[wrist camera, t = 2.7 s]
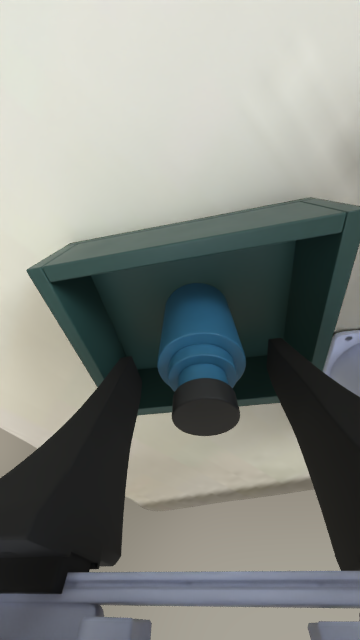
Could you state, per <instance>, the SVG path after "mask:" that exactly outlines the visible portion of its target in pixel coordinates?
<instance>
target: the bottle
mask: <svg viewBox="0 0 360 640" xmlns="http://www.w3.org/2000/svg"><path fill="white" fill-rule="evenodd" d="M245 367H246V357H245V354H244V351H243V348H242V345H241V342H240V339H239V336H238V333H237V330H236V327H235V324H234V321H233V318H232V315H231V312H230V309H229V306H228V303H227V300H226V298H225V297H224V295H223V294H222V293H221V292H220V291H219V290H218V289H216V288H215V287H213V286H211V285H208V284H203V283H192V284H187V285H185V286H182V287H180V288H178V289H177V290H176V291H174V292H173V293H172V294H171V296H170V297H169V298H168V300H167V302H166V306H165V313H164V320H163V326H162V333H161V340H160V347H159V354H158V361H157V368H158V372H159V374H160V376H161V378H162V379H163V380H164V382H165V383H166V384H168V385H169V386H170V387H171V388H172V390H173V391H174V395H173V404H172V420H173V422H174V424H175V426H176V427H177V428H179V429H180V430H182V431H183V432H186V433H188V434H192V435H198V436H212V435H218V434H221V433H224V432H227V431H229V430H230V429H232V428H233V427H234V426H236V424H237V423H238V421H239V419H240V411H239V407H238V402H237V398H236V394H235V391H234V390H233V387H234V386H235V384H236V382H237V381H238V380H239V379H240V378H241V376H242V375H243V373H244V371H245Z"/></svg>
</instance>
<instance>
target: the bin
mask: <svg viewBox="0 0 360 640" xmlns="http://www.w3.org/2000/svg"><path fill="white" fill-rule="evenodd" d="M359 244H360V206H356V205H350V204H344V203H339V202H333V201H328V200H322V199H316V198H311V197H310V198H305V199H300V200H295V201H289V202H284V203H279V204H274V205H268V206H263V207H258V208H253V209H247V210H242V211H237V212H232V213H227V214H221V215H216V216H211V217H206V218H200V219H195V220H190V221H185V222H179V223H174V224H169V225H164V226H159V227H153V228H148V229H143V230H138V231H132V232H127V233H122V234H117V235H111V236H106V237H101V238H96V239H91V240H85V241H80V242H75V243H70V244H68V245H67V246H65V247H64V248H62V249H60V250H59V251H57V252H55V253H54V254H52V255H50V256H49V257H47V258H45V259H44V260H42V261H40V262H39V263H37V264H35V265H34V266H32V267H30V268H29V269H27V270H26V271H27V273H28V274H29V276H30V278H31V279H32V281H33V283H34V284H35V286H36V288H37V289H38V291H39V292H40V294H41V296H42V297H43V299H44V301H45V302H46V304H47V305H48V307H49V309H50V310H51V312H52V314H53V315H54V317H55V319H56V320H57V322H58V323H59V325H60V327H61V328H62V330H63V332H64V333H65V335H66V336H67V338H68V340H69V341H70V343H71V345H72V346H73V348H74V350H75V351H76V353H77V354H78V356H79V358H80V359H81V361H82V363H83V364H84V366H85V367H86V369H87V371H88V372H89V374H90V376H91V377H92V379H93V381H94V382H95V384H96V385H97V387H99V385H100V384H101V383H102V382H103V380H104V379H105V378H106V376H107V375H108V374H109V372H110V371H111V370H112V369H113V367H114V366H115V365H116V363H117V362H118V361H119V359H120V358H121V357H129V356H132V358H133V361H134V363H135V365H136V368H137V370H138V372H139V375H140V377H141V380H142V389H141V399H140V404H139V409H138V413H137V415H146V414H158V413H169V412H172V404H173V395H174V391H173V390H172V388H171V387H170V386H169V385H168V384H166V383H165V382H164V380H163V379H162V378H161V376H160V374H159V372H158V368H157V361H158V354H159V347H160V340H161V333H162V326H163V320H164V313H165V306H166V302H167V300H168V298H169V297H170V296H171V294H172V293H173V292H174V291H176V290H177V289H178V288H180V287H182V286H185V285H187V284H192V283H203V284H208V285H211V286H213V287H215V288H216V289H218V290H219V291H220V292H221V293H222V294H223V295H224V297H225V298H226V300H227V303H228V306H229V309H230V312H231V315H232V318H233V321H234V324H235V327H236V330H237V333H238V336H239V339H240V342H241V345H242V348H243V351H244V354H245V357H246V367H245V371H244V373H243V375H242V376H241V378H240V379H239V380H238V381H237V382H236V384H235V386H234V387H233V390H234V391H235V394H236V398H237V402H238V406H248V405H259V404H271V403H280V401H279V399H278V397H277V394H276V392H275V390H274V388H273V386H272V383H271V380H270V377H269V374H268V371H267V368H266V367H267V353H268V339H275V338H282V339H283V340H285V341H286V342H287V343H288V344H289V345H290V346H292V347H293V348H294V349H295V350H296V351H297V352H299V353H300V354H301V355H302V356H303V357H305V358H306V359H307V360H308V361H310V362H311V363H312V364H313V365H315V366H316V367H317V368H318V369H320V370H321V371H322V372H323V368H324V365H325V361H326V358H327V354H328V351H329V347H330V344H331V341H332V337H333V334H334V330H335V327H336V323H337V320H338V316H339V313H340V309H341V306H342V302H343V299H344V296H345V292H346V289H347V285H348V282H349V278H350V275H351V271H352V268H353V264H354V261H355V257H356V254H357V250H358V247H359Z"/></svg>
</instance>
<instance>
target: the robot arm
mask: <svg viewBox="0 0 360 640" xmlns="http://www.w3.org/2000/svg"><path fill="white" fill-rule="evenodd" d="M346 337H347V338H346ZM266 368H267V371H268V374H269V377H270V380H271V383H272V386H273V388H274V390H275V392H276V394H277V397H278V399H279V401H280V403H281V405H282V407H283V409H284V411H285V413H286V416H287V418H288V420H289V422H290V424H291V426H292V428H293V431H294V433H295V435H296V438H297V440H298V443H299V446H300V449H301V451H302V454H303V457H304V460H305V463H306V465H307V468H308V471H309V474H310V477H311V480H312V483H313V486H314V489H315V492H316V495H317V498H318V501H319V504H320V507H321V510H322V513H323V517H324V520H325V523H326V526H327V530H328V533H329V536H330V539H331V543H332V546H333V549H334V553H335V557H336V559H337V562H338V564H339V567H340V569H341V571H248V572H247V571H241V572H240V571H238V572H237V571H236V572H89V570H90V569H99V566H113V565H115V564H116V562H117V561H118V560H119V558H120V557H121V545H122V527H123V512H124V500H125V488H126V479H127V469H128V461H129V453H130V446H131V441H132V436H133V432H134V427H135V422H136V418H137V413H138V409H139V404H140V399H141V389H142V380H141V377H140V375H139V372H138V370H137V368H136V365H135V363H134V361H133V358H132V356H129V357H121V358H120V359H119V361H118V362H117V363H116V365H115V366H114V367H113V369H112V370H111V371H110V372H109V374H108V375H107V376H106V378H105V379H104V380H103V382H102V383H101V384H100V385H99V387H98V388H97V389H96V390H95V392H94V393H93V394H92V395H91V396H90V397H89V399H88V400H87V401H86V402H85V403H84V404H83V406H82V407H81V408H80V409H79V410H78V411H77V412H76V413H75V414H74V415H73V416H72V417H71V418H70V419H69V420H68V421H67V422H66V423H65V424H64V425H63V426H62V427H61V428H60V429H59V430H58V431H57V432H56V433H55V434H54V435H53V436H52V437H50V438H49V439H48V440H47V441H46V442H45V443H44V444H43V445H42V446H41V447H39V448H38V449H37V450H36V451H35V452H33V453H32V454H31V455H30V456H29V457H27V458H26V459H25V460H24V461H22V462H21V463H20V464H19V465H17V466H16V467H15V468H14V469H12V470H11V471H10V472H9V473H7V474H6V475H4V476H3V477H2V478H0V640H150V636H151V624H152V623H151V621H150V620H143V619H132V618H116V617H104V614H103V609H102V607H101V606H100V605H135V606H139V605H140V606H214V607H223V606H224V607H295V608H296V607H297V608H360V330H353V331H344V332H338V333H336V334H335V335H334V336H333V338H332V341H331V345H330V348H329V352H328V355H327V359H326V362H325V365H324V369H323V372H322V371H321V370H320V369H318V368H317V367H316V366H315V365H313V364H312V363H311V362H310V361H308V360H307V359H306V358H305V357H303V356H302V355H301V354H300V353H299V352H297V351H296V350H295V349H294V348H293V347H292V346H290V345H289V344H288V343H287V342H286V341H285V340H283V339H282V338H275V339H268V353H267V367H266ZM359 617H360V614H359ZM308 630H309V634H310V637H311V640H360V620H359V622H326V621H324V622H323V621H321V622H320V621H319V622H318V623H309V624H308Z"/></svg>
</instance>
